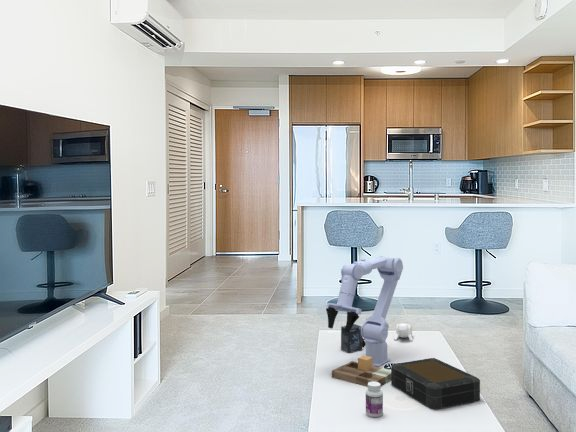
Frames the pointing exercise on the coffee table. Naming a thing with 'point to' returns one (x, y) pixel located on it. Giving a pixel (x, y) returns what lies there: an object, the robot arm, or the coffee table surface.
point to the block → (365, 363)
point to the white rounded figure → (403, 331)
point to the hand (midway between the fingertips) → (338, 330)
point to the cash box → (435, 383)
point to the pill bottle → (374, 400)
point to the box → (351, 339)
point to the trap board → (361, 374)
